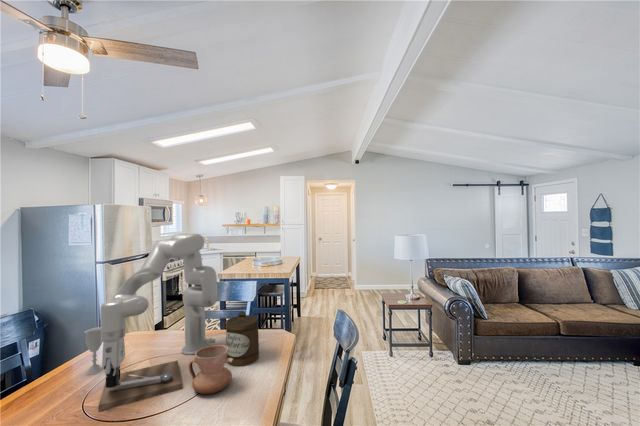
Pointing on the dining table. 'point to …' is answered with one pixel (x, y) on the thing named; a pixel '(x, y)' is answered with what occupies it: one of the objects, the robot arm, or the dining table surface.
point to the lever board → (144, 391)
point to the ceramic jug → (211, 369)
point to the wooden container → (242, 339)
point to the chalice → (93, 347)
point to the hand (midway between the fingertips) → (113, 383)
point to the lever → (141, 381)
